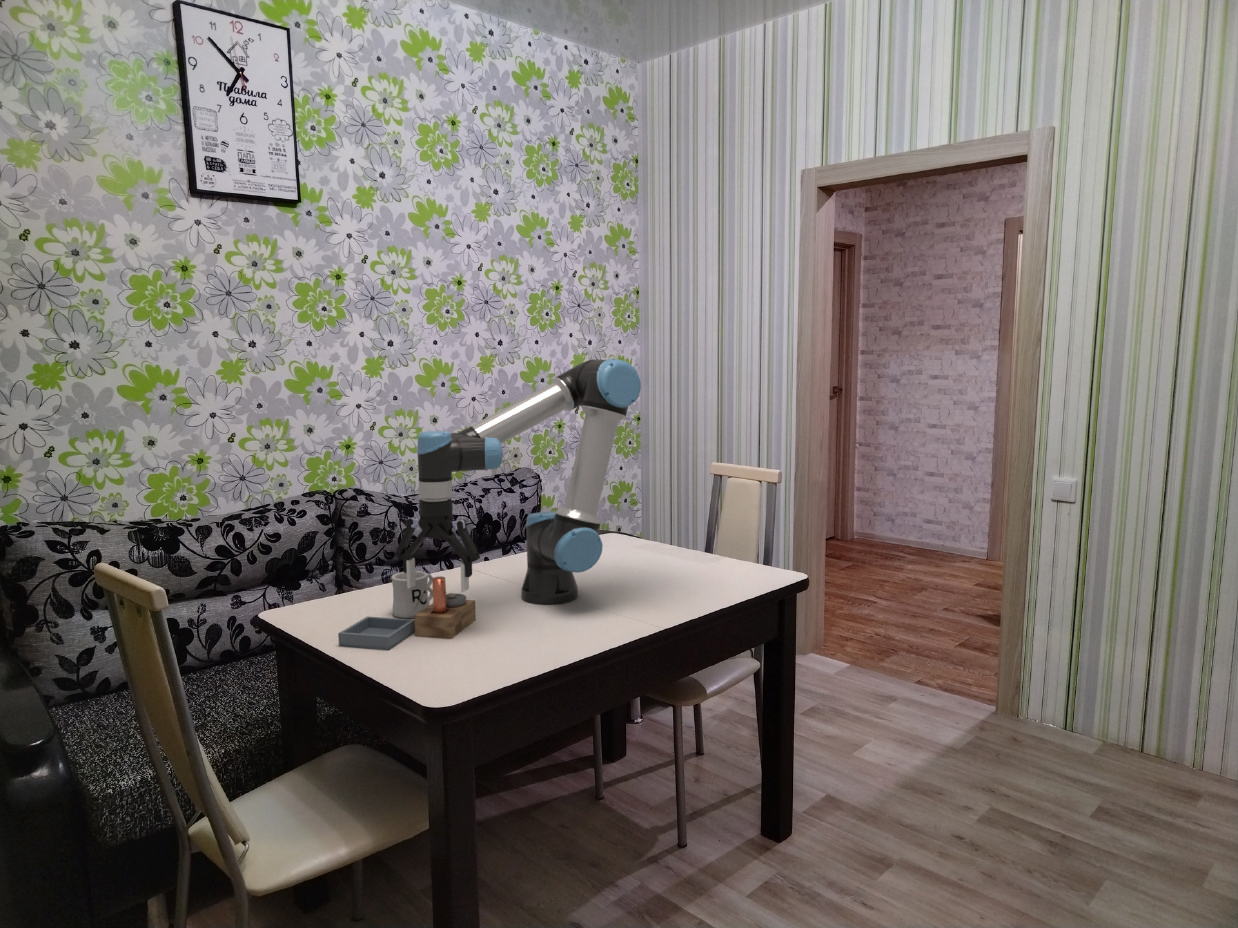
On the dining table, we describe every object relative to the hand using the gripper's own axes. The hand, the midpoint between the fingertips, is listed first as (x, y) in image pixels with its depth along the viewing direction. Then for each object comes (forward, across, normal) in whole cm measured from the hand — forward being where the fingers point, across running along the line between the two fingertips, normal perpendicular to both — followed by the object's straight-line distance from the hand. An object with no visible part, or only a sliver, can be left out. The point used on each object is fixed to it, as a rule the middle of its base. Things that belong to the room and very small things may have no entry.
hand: (438, 588), depth 193 cm
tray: (+11, +12, +7) cm, 17 cm away
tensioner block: (+10, 0, -3) cm, 11 cm away
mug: (+11, +13, -13) cm, 21 cm away
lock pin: (+10, 0, 0) cm, 11 cm away
